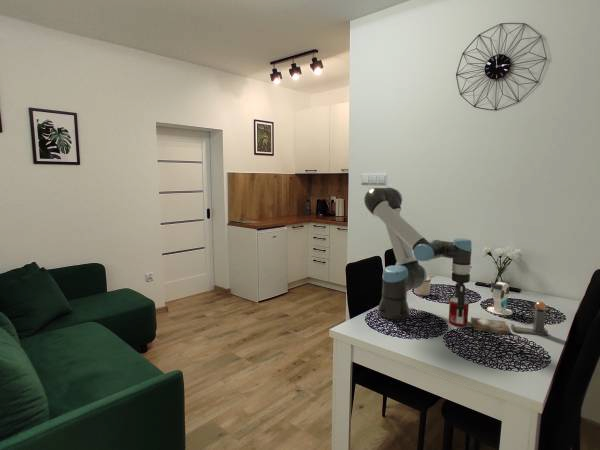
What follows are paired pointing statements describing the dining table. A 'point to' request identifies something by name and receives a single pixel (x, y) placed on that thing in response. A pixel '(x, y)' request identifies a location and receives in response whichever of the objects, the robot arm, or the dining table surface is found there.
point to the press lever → (539, 317)
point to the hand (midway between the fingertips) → (458, 318)
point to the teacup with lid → (423, 288)
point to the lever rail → (528, 330)
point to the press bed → (489, 325)
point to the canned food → (454, 312)
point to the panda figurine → (500, 298)
